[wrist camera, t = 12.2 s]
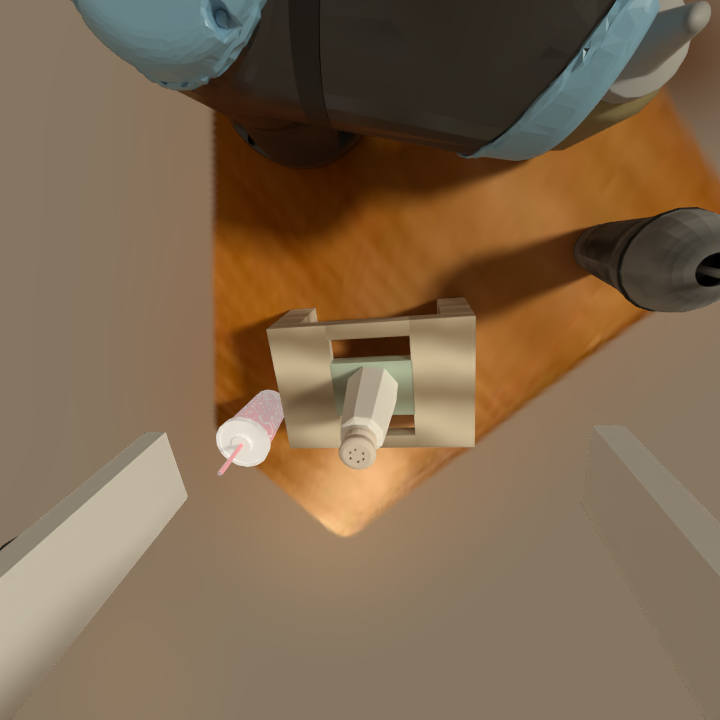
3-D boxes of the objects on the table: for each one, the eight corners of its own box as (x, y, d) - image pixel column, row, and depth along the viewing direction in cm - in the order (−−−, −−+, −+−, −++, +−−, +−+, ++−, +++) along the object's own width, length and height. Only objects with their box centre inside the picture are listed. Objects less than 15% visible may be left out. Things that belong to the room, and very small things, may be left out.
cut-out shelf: (291, 309, 43) (266, 329, 36) (464, 297, 40) (475, 315, 33) (309, 412, 48) (290, 448, 41) (464, 408, 45) (474, 446, 38)
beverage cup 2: (590, 195, 35) (786, 175, 17) (656, 229, 35) (920, 247, 17) (544, 265, 38) (667, 314, 19) (605, 296, 38) (782, 374, 20)
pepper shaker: (337, 398, 38) (310, 466, 28) (359, 355, 36) (338, 412, 26) (384, 420, 38) (373, 496, 28) (408, 379, 36) (407, 444, 26)
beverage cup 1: (296, 424, 49) (255, 498, 37) (254, 425, 50) (199, 497, 38) (288, 383, 47) (241, 447, 34) (244, 385, 48) (183, 447, 35)
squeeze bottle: (523, 174, 35) (636, 160, 19) (481, 93, 33) (570, -3, 16) (607, 113, 33) (823, 37, 16) (569, 21, 30) (777, -176, 14)
